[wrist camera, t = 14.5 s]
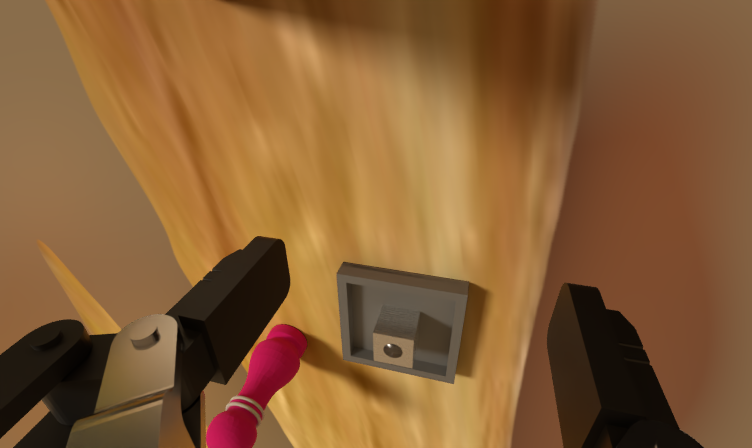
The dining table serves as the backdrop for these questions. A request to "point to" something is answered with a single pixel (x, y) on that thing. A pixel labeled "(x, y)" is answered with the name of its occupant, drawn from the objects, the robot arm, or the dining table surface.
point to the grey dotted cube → (396, 336)
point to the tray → (409, 291)
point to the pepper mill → (258, 388)
